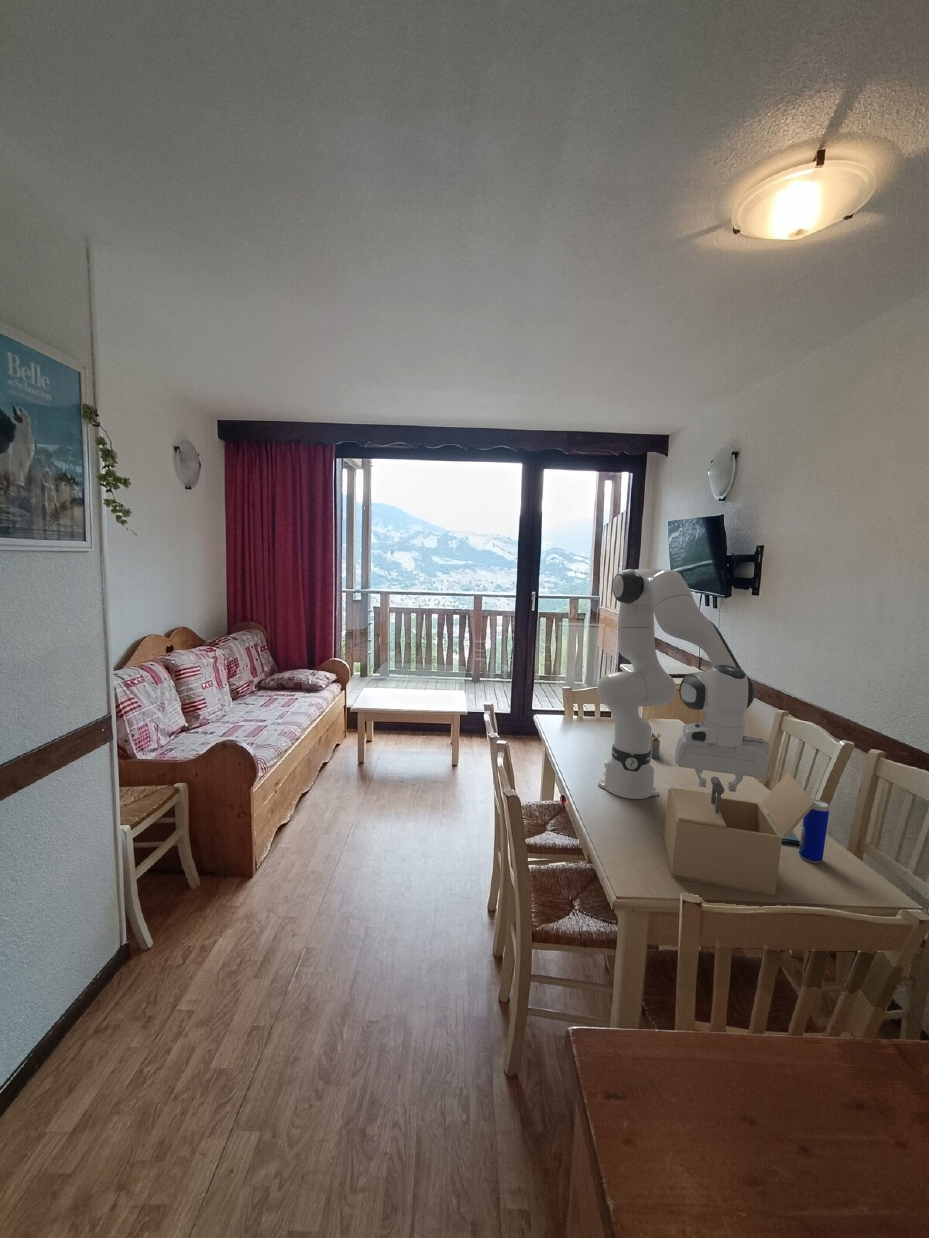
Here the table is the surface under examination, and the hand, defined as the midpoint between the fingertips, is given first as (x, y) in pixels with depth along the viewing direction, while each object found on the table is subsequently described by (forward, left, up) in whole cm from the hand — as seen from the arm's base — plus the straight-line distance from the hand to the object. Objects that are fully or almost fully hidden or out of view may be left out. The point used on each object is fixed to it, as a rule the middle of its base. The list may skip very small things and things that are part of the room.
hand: (716, 788), depth 130 cm
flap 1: (0, -4, -5) cm, 7 cm away
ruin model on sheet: (-77, -8, -20) cm, 80 cm away
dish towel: (-26, +14, -20) cm, 36 cm away
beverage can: (-12, +26, -20) cm, 35 cm away
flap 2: (0, +15, -1) cm, 15 cm away
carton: (0, +1, -20) cm, 20 cm away
